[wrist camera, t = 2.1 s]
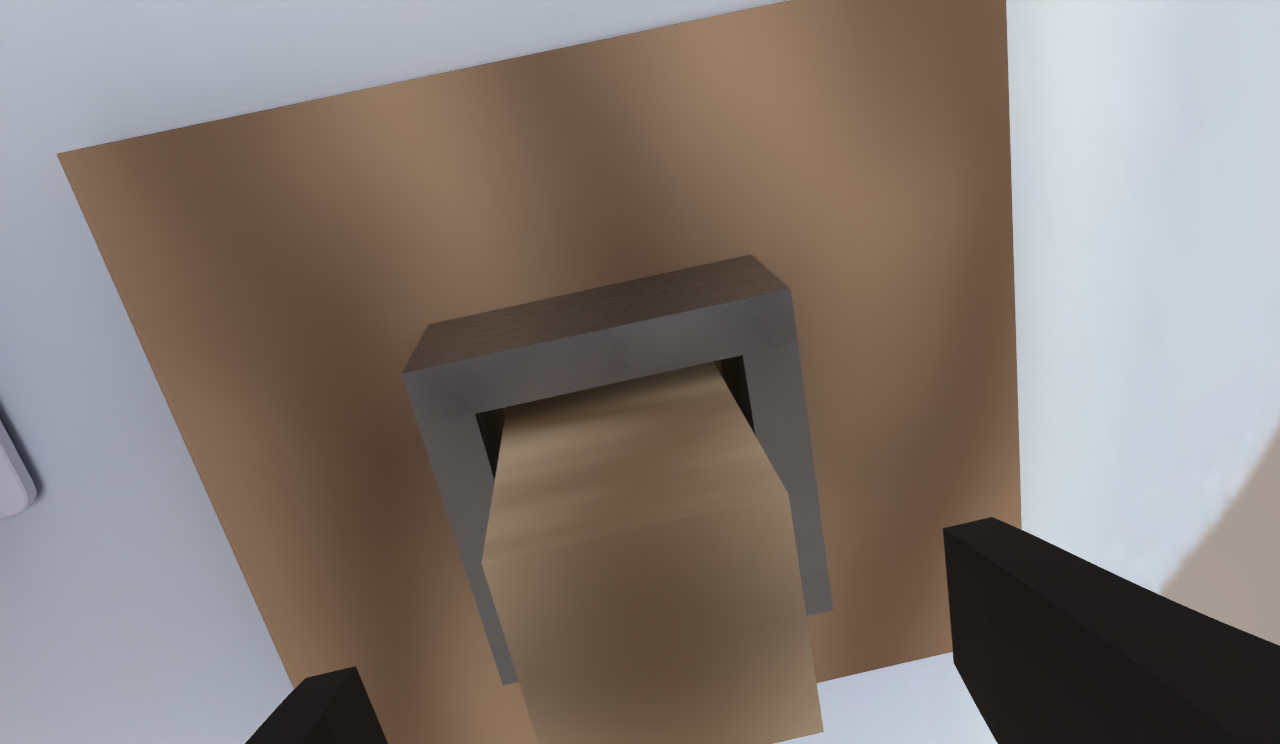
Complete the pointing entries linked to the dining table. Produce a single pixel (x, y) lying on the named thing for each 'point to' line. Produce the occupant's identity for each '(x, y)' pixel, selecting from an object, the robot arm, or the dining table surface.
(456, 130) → the board
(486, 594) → the sleeve
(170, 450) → the dining table surface
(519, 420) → the post
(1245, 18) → the dining table surface
